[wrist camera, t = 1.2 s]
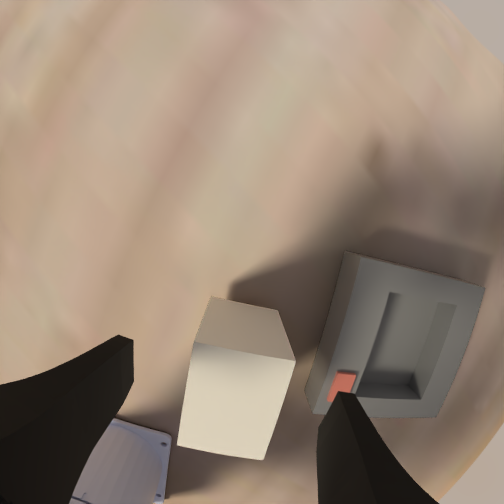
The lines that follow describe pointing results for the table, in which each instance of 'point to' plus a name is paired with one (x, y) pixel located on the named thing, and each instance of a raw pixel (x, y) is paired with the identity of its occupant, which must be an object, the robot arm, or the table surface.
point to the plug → (236, 380)
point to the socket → (392, 338)
